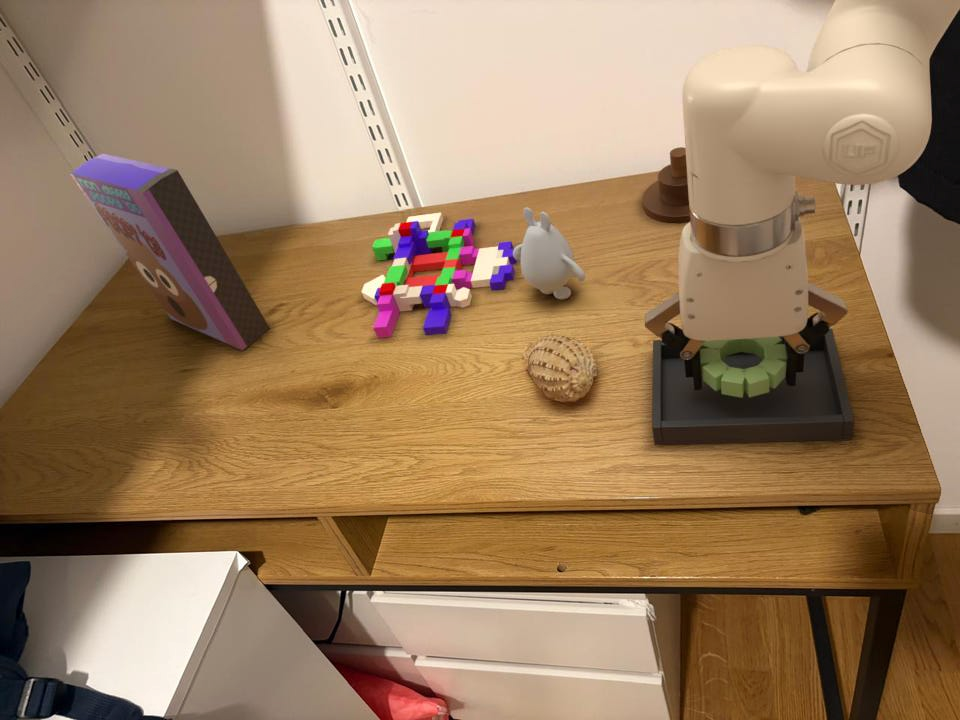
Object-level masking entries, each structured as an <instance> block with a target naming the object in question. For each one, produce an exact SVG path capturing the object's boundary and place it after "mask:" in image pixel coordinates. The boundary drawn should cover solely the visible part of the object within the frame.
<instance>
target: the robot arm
mask: <svg viewBox="0 0 960 720" xmlns="http://www.w3.org/2000/svg"><path fill="white" fill-rule="evenodd" d="M959 11H960V0H834V2H833V3H832V6H831V8H830V10H829V12H828V14H827V15H826V18H825V20H824V22H823V24H822V26H821V28H820V30H819V32H818V34H817V36H816V39H815V41H814V43H813V46H812V48H811V52H810V55H809V59H808V62H807V66H806V70H805V72H804V71H801V70H800V69H799V68H798V66H797V63H796V62H795V60H794V59H793V57H791V56H790V55H789V54H788V53H787V52H785V51H783V50H781V49H779V48H778V47H777V48H776V47H773V46H767V45H757V44H756V45H755V44H753V45H740V46H735V47H734V46H733V47H728V48H725V49H722V50H719V51H716V52H713V53H711V54H709V55H706V56H704V57H703V58H701V59H700V60H699V61H698V62H697V63H695V64H694V65H693V66H692V67H691V68H690V70H689V71H688V72H687V74H686V76H685V78H684V80H683V84H682V91H681V92H682V93H681V94H682V95H681V96H682V97H681V99H682V101H681V103H682V117H683V130H684V132H683V133H684V148H685V149H686V164H687V179H688V195H689V209H690V222H686V224H685V225H683V226H684V227H683V228H682V230H681V234H680V239H679V247H678V248H679V249H678V263H677V264H678V265H677V266H678V267H677V269H678V275H677V276H678V277H677V278H678V279H677V280H678V291H677V292H675V293H674V294H672V295H671V296H669V297H668V298H666V299H665V300H664V301H662V302H660V303H659V304H658V305H656V306H655V307H653V308H652V309H651V310H649V311H648V312H646V313H645V314H644V327H645V329H646V330H648V331H649V332H650V333H651V334H653V335H654V336H655V337H658V338H660V340H662V342H663V343H664V344H666V345H667V346H669V347H671V348H672V349H674V350H676V351H677V352H679V353H680V357H681V358H682V359H684V363H685V375H686V378H688V377H693V379H694V390H700V389H702V377H701V362H700V347H701V346H702V345H703V343H704V342H705V341H710V340H731V339H748V338H764V337H777V336H783V338H784V344H785V348H786V354H787V372H786V377H785V378H786V384H787V385H789V386H795V385H796V372H803V368H804V353H806V352H808V351H809V349H810V347H809V345H811V344H812V343H814V342H815V341H817V340H818V339H820V338H821V337H822V336H824V335H825V334H827V333H828V332H829V329H831V327H832V326H833V327H834V326H835V325H836V324H837V323H838V322H840V321H841V320H843V318H844V317H845V316H846V315H848V312H849V310H848V308H847V307H848V306H847V303H846V300H845V299H844V298H842V297H840V296H838V295H836V294H834V293H832V292H830V291H828V290H825V289H823V288H822V287H820V286H817V285H815V284H814V283H811V282H809V271H808V270H809V269H808V259H807V249H806V237H805V231H804V227H803V222H802V219H801V218H802V217H805V215H813V214H815V213H816V197H815V195H806V196H804V194H799V192H798V191H796V177H798V178H804V179H810V180H813V181H819V182H823V183H824V182H825V183H830V184H836V185H837V184H838V185H849V186H860V185H861V186H864V185H874V184H879V183H883V182H886V181H889V180H891V179H894V178H896V177H897V176H899V175H901V174H903V173H904V172H906V171H907V170H908V169H910V168H912V166H913V165H914V164H915V163H916V162H917V161H918V160H919V158H920V157H921V156H922V154H923V152H924V151H925V149H926V146H927V144H928V142H929V140H930V135H931V132H932V131H931V130H932V122H933V116H932V115H933V114H932V93H931V90H932V89H931V74H930V73H931V72H930V59H931V56H932V55H933V52H934V51H935V49H936V47H937V46H938V44H939V42H940V41H941V39H942V37H943V36H944V34H945V33H946V31H947V30H948V29H949V26H950V25H951V23H953V22H952V21H953V20H954V19H955V17H956V15H957V14H958V12H959ZM809 306H810V307H812V308H814V309H815V310H818V312H815V313H813V314H812V315H810V316H808V315H809ZM679 315H680V316H679ZM677 316H679V319H680V325H681V327H679V326H678V325H675V324H674V323H672V322H670V321H671V320H673V319H675V317H677Z"/></svg>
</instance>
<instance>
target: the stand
mask: <svg viewBox="0 0 960 720" xmlns="http://www.w3.org/2000/svg"><path fill="white" fill-rule="evenodd" d="M669 161H670V164H667V165H666V166H664V167H662V169H660V171H659V172H658V173H657V180H656V181H655V182H653V183H652V184H650V185H649V186H648V187H647V188H646V190H645V191H644V192H643V195H642V207H643V210H644V212H645V213H646V215H647V216H649V217H650V218H652V219H653V220H656V221H658V222H662V223H669V224H681V223H689V222H690V209H689V195H688V179H687V164H686V149H685V147H681V146H680V147H675V148H672V150H670V151H669Z"/></svg>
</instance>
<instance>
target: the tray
mask: <svg viewBox="0 0 960 720" xmlns="http://www.w3.org/2000/svg"><path fill="white" fill-rule="evenodd" d="M778 337H779V338H780V339H782V344H784V338H783V336H778ZM809 347H810V349H809V351H808V352H806V353H804V368H803V372H796V385H795V386H789V385H787V384H786V378H784V379H783V380H782V381H781V382H780V383H779V385H778V386H777V387H776V388H775V389H773V388H771V387H769V392H768V393H764V394H760V395H757V396H753V397H749V396H748V395H747V393H746V391H745V392H744V395H743V397H742V398H741V397H735V396H730V395H724V394H722V391H721V389H719V390H717V391H715V390H714V389H713V388H712V387H710V386H709V385H708V384H707V383H706V382H705V381H703V376H701V377H702V389H700V390H694V379H693V377H688V378H686V375H685V363H684V359H682V358H681V357H680V353H679V352H677V351H676V350H674V349H672V348H671V347H669V346H667V345H666V344H664V343H663V342H662V339H654V340H652V389H651V390H652V395H651V401H652V402H651V429H652V437H653V444H654V445H655V446H665V445H666V446H668V445H707V444H710V445H711V444H744V443H745V444H746V443H748V444H749V443H782V442H783V443H784V442H785V443H786V442H790V443H791V442H824V441H827V442H829V441H830V442H831V441H852V440H853V433H854V425H855V419H854V418H855V417H854V414H853V409H852V405H851V401H850V398H849V397H850V396H849V394H848V393H849V392H848V389H847V386H846V385H847V384H846V380H845V377H844V372H843V368H842V363H841V359H840V355H839V351H838V347H837V342H836V338H835V334H834V329H833V328H829V332H828V333H827V334H825V335H824V336H822V337H821V338H820V339H818V340H817V341H815V342H814V343H812V344H811V345H809ZM700 349H701V347H700ZM762 361H763V360H762V359H761V358H759V357H758V356H757V355H755V354H752V353H745V352H738V353H735V354H731V355H728V356H727V357H726V358H725V359H724V360H723V362H724V363H725V364H727V365H728V366H729V367H733V368H740V369H747V368H750V367H754V366H758V365H759V364H760V363H761V362H762Z"/></svg>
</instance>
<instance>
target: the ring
mask: <svg viewBox="0 0 960 720" xmlns="http://www.w3.org/2000/svg"><path fill="white" fill-rule="evenodd" d="M738 352H745V353H752V354H755V355H757V356H758V357H759V358H761V359H762V360H763V361H762V362H761V363H760V364H759V365H758V366H754V367H750V368H747V369H740V368H733V367H729V366H728V365H727V364H725V363H724V362H723V360H724V359H725V358H726V357H727V356H728V355H731V354H735V353H738ZM700 362H701V376H703V381H705V382H706V383H707V384H708V385H709V386H710V387H712V388H713V389H714V390H715V391H717V390H719V389H721V391H722V394H724V395H730V396H735V397H741V398H742V397H743V395H744V392H745V391H746V393H747V395H748V396H749V397H753V396H757V395H760V394H764V393H768V392H769V387H771V388H773V389H775V388H776V387H777V386H778V385H779V383H780V382H781V381H782V380H783V379H784V378H785V377H786V372H787V354H786V348H785V344H782V339H780V338H779V337H778V336H777V337H764V338H748V339H731V340H710V341H705V342H704V343H703V345H702V346H701V349H700Z"/></svg>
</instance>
